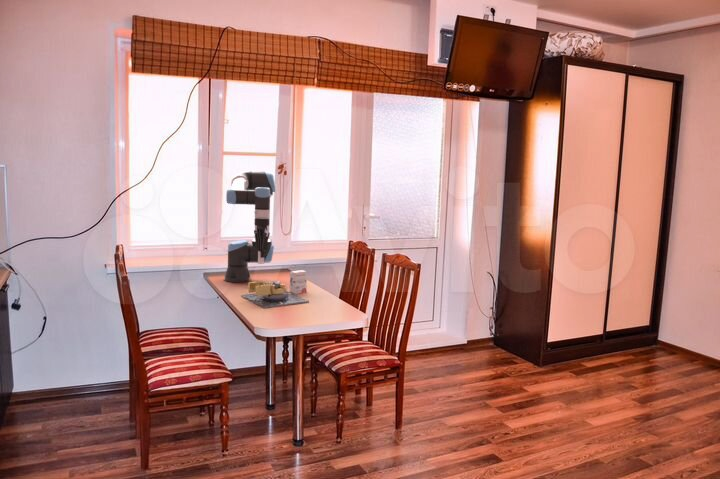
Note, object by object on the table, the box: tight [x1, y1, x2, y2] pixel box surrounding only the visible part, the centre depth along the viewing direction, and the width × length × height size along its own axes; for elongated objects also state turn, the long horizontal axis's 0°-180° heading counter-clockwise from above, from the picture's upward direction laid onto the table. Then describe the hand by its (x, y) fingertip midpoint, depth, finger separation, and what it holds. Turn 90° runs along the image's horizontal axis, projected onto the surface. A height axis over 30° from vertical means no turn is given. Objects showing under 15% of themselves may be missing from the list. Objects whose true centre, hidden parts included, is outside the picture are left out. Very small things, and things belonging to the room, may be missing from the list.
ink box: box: [289, 270, 308, 295], centre depth 324 cm, size 9×5×12 cm, turn 134°
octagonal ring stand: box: [247, 280, 288, 296], centre depth 304 cm, size 18×11×5 cm, turn 126°
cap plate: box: [240, 281, 310, 309], centre depth 306 cm, size 26×26×9 cm
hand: (261, 263), depth 300 cm, fingers closed
